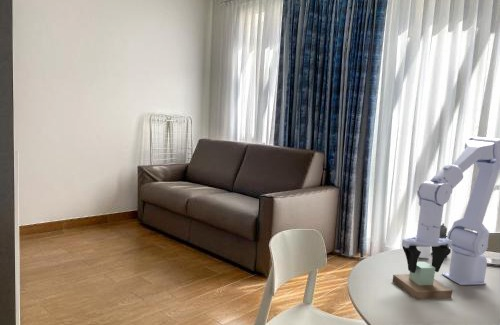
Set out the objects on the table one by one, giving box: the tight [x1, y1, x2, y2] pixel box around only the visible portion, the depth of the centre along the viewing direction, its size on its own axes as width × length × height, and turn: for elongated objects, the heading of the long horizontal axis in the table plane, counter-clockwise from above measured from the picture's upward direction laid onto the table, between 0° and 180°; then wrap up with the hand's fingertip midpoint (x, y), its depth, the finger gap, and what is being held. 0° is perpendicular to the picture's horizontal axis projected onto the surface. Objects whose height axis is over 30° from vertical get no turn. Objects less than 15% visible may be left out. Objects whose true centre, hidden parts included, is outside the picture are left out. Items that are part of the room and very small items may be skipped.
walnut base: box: [392, 273, 453, 300], centre depth 110 cm, size 11×11×2 cm
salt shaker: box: [430, 223, 450, 259], centre depth 139 cm, size 6×6×12 cm
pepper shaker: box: [416, 247, 431, 259], centre depth 137 cm, size 4×4×10 cm
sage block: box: [409, 261, 436, 285], centre depth 110 cm, size 4×4×5 cm
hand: (423, 271), depth 109 cm, fingers open, 7 cm apart
